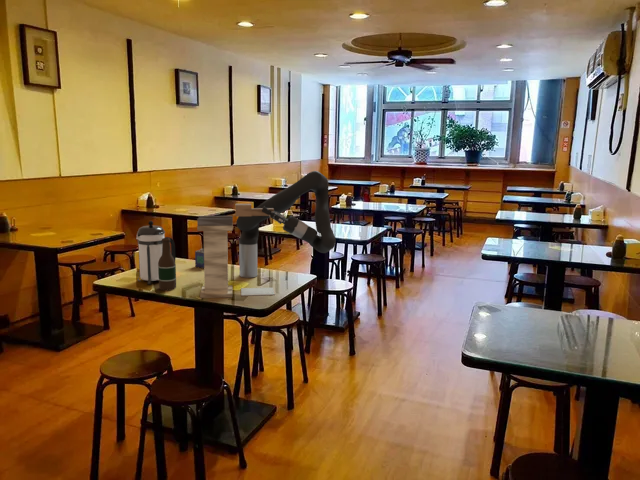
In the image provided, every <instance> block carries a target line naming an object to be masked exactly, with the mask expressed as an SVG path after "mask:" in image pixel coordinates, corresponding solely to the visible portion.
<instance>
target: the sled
mask: <svg viewBox="0 0 640 480" xmlns="http://www.w3.org/2000/svg"><path fill="white" fill-rule="evenodd" d="M234 206H235V217H239V216H269V215H267V214H265V213H264V212H262V209H263V208H256V207H254V208H253V207H252V203H235V205H234ZM267 209H269V210H270V211H273V212H274V208H267Z"/></svg>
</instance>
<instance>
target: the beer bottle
mask: <svg viewBox="0 0 640 480" xmlns="http://www.w3.org/2000/svg"><path fill="white" fill-rule="evenodd" d="M170 238H171V237H169V238H165V237H164V238H163V239H162V256H161V257H160V259H159V262H158V274H159V280H158V288H159V290H161V291H173V290H175V289H176V288H177V274H176V273H177V270H176V269H177V267H176V259H175V260H174V258H173V256H172V255H171V243H170Z"/></svg>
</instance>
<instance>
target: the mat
mask: <svg viewBox="0 0 640 480" xmlns="http://www.w3.org/2000/svg"><path fill="white" fill-rule="evenodd" d="M274 291H275V290H274V287H240V292H241V293H240V295H241V297H254V296H255V297H256V296H275V295H276V294H275V292H274Z"/></svg>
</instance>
